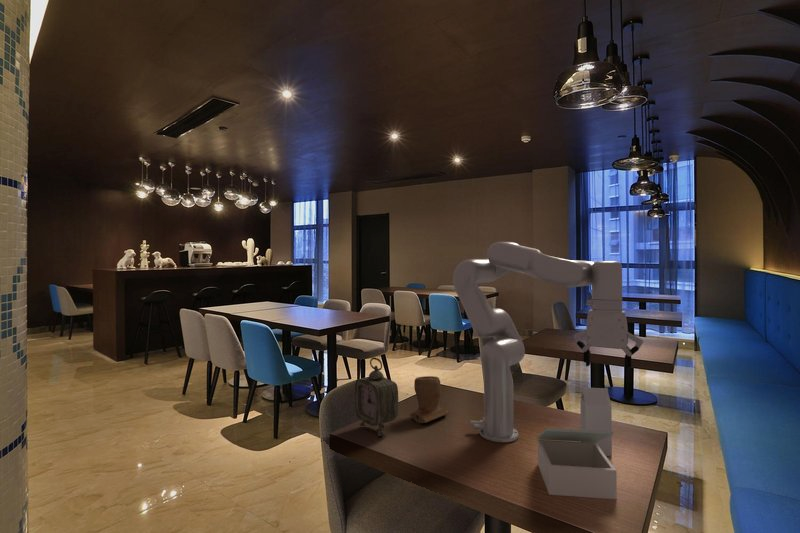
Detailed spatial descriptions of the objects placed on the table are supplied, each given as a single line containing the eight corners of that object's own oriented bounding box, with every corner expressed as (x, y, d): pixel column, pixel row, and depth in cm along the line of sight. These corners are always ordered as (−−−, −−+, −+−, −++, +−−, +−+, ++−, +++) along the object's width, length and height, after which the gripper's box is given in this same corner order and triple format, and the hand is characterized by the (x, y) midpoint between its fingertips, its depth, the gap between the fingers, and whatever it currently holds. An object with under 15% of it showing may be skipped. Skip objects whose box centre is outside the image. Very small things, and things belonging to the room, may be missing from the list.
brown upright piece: (428, 408, 164) (428, 370, 164) (452, 416, 156) (452, 376, 156) (401, 418, 153) (401, 378, 153) (425, 427, 145) (425, 384, 145)
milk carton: (612, 457, 122) (611, 392, 122) (586, 455, 123) (585, 391, 123) (605, 446, 129) (604, 385, 129) (580, 444, 130) (580, 384, 130)
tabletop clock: (355, 427, 146) (354, 356, 146) (376, 420, 152) (375, 352, 152) (379, 440, 135) (378, 363, 135) (400, 433, 140) (400, 359, 140)
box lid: (546, 430, 104) (546, 428, 104) (537, 439, 118) (537, 437, 118) (613, 434, 102) (613, 431, 102) (596, 442, 115) (595, 440, 116)
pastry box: (549, 494, 102) (548, 466, 102) (537, 464, 118) (537, 439, 118) (616, 499, 100) (616, 470, 100) (596, 467, 115) (596, 442, 115)
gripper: (570, 305, 116) (571, 366, 116) (642, 308, 107) (642, 375, 107) (576, 303, 123) (576, 361, 123) (643, 306, 113) (644, 368, 113)
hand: (607, 367), depth 115 cm, fingers open, 9 cm apart
